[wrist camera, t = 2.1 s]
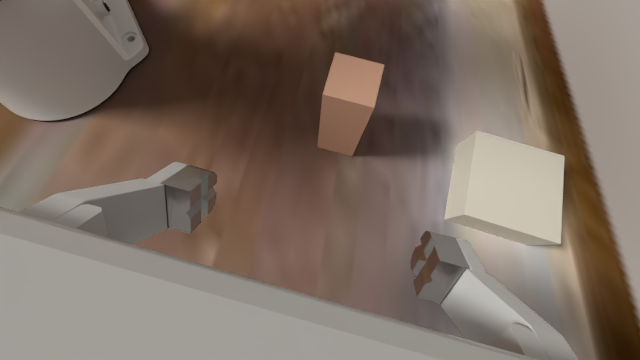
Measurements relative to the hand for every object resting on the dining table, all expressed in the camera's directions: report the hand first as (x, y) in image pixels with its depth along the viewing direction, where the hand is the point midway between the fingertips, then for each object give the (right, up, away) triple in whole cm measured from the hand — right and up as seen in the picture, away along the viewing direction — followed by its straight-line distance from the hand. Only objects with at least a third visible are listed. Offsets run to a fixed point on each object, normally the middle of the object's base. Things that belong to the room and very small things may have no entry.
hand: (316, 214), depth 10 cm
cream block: (+19, 0, +19) cm, 27 cm away
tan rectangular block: (+2, +6, +20) cm, 21 cm away
